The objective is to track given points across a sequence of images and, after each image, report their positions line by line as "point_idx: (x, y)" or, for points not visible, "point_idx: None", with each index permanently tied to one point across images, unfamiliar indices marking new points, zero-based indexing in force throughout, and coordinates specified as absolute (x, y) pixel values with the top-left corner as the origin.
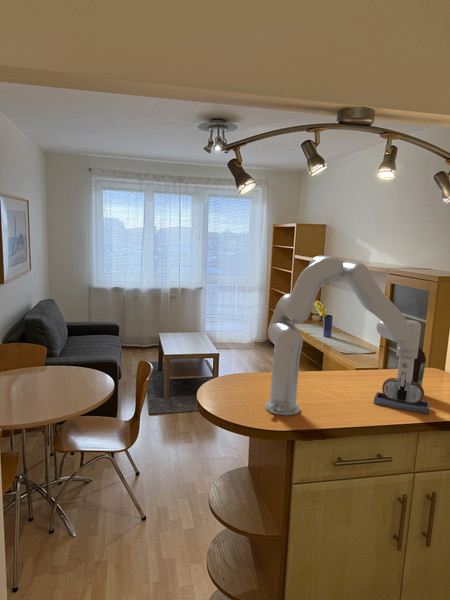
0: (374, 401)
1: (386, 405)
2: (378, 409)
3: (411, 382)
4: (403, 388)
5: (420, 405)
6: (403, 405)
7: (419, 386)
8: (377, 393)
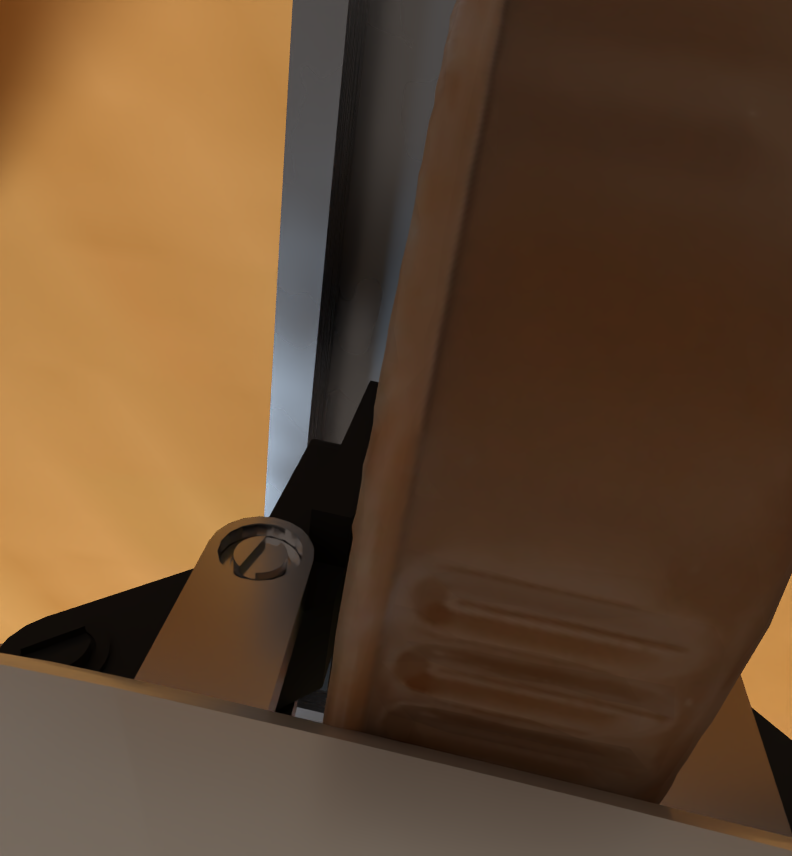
0: None
1: None
2: None
3: (511, 718)
4: (787, 777)
5: (410, 28)
6: None
7: (774, 257)
8: (320, 722)
